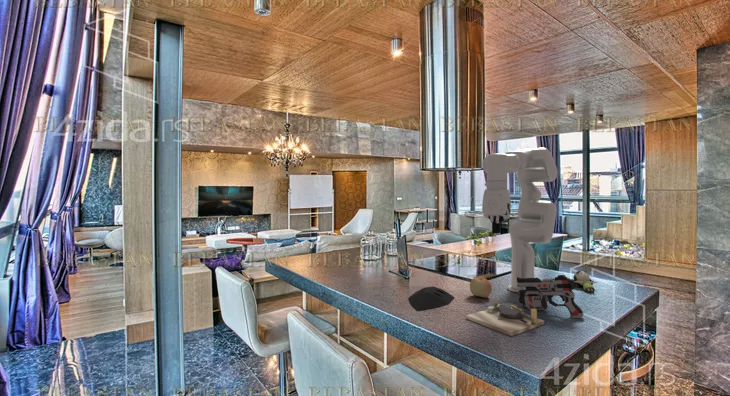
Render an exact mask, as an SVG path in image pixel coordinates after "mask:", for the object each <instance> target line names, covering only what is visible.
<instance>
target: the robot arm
mask: <svg viewBox="0 0 730 396" xmlns="http://www.w3.org/2000/svg"><path fill="white" fill-rule="evenodd" d="M555 162H556V161H555V160H554V157H553V155H552V153H551V151H550V150H549V149H548V148H546V147H538V148H537V147H536V148H535V147H534V148H522V149H519V150H511V151H505V152H501V153H500V152H498V153H497V152H496V153H490V154H488V155H486V156H485V157H484V159H482V165H481V166H482V170H483V171H484V173H486V182H485V183H484V186H485V187H486V188H485V189H484V191H483V196H482V203H481V206H482V207H481V209H482V212H481V213H482V214H484V215H483V216H484V218H487V219H489V221H490V224H491V232H492V234H495V235H498V234H501V233H502V224H503V222H504V221H505V220H508V219H510V218H511V216H510V215H511V213H512V212H511V211H512V206H511V205H512V201H511V193H510V190H509V189H508V174H515V173H516V176H517V180H518V184H519V188H520V191H521V192H520V193H521V195H520V200H519V203H518V208H517V217H518V218H519V219H520V220H515V221H513V222H512V223H511V224H510V226H509V236H510V243H511V264H510V265H511V268H510V269H511V274H510V275H511V280H510V282H511V283H510V284H509V285H507V289H508V291H510V292H513V293H518V294H519V291H520V290H526V288H525V287H517V284H518V283H517V277H519V278H535V258H536V257H535V255H536V254H535V250H534V249H533V246H532V245H531V243H532V244H533V243H534V244H541V245H543V244H544V245H545V244H550V242H551V241H552V239H553V234H554V229H555V224H556V218H557V207H556V205H555V203H554V202H552V201H549V200H541V199H542V193H541V191H540V189H539V187H537V186H536V185H535V184H534V183H545V182H546V183H548V182H549V183H550V182H554V181H555V180H556V179H557V177H558V169H557V166H556V163H555Z"/></svg>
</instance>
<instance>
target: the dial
mask: <svg viewBox="0 0 730 396" xmlns="http://www.w3.org/2000/svg"><path fill="white" fill-rule="evenodd" d="M499 304H500V305H499V314H500V315H501V316H503V317H506V318H510V319H521V318H523V317H524V318H526V319H529V320H531V325H537V319H538V317H537V316H538V310H537V309H534V308H531V310H530V314H527V313H525V308H524V306H523V305H520V304H517V303H509V302H508V303H507V302H506V303H499Z"/></svg>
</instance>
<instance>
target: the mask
mask: <svg viewBox="0 0 730 396" xmlns="http://www.w3.org/2000/svg"><path fill="white" fill-rule="evenodd" d="M407 300H408V302H409V305H410V307H411V308H413V309H414V310H415V311H416V312H423V311H429V310H434V309H438V308H443V307H445V306H448V305H450V304H451V303H452V302H453V300H455V297H454V296H453V295H452V294H450V293H449V292H448V291H446V290H444V289H442V288H440V287H436V286H428V287H423V288H421V289H418V290H417V291H415V292H414V293H413V294H411V295H410V296H408V298H407Z"/></svg>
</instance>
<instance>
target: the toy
mask: <svg viewBox="0 0 730 396" xmlns="http://www.w3.org/2000/svg"><path fill="white" fill-rule="evenodd" d="M572 277H573V278H572V279H573V280H574V281H575V284H577V286H578V287H577V288H583V290H584V291H585V293H592V294H594V293H595V290H596V289H595V287H594V286H593V285H594V284H598V281H594V280H593V279H591V278H590V275H589V273H588V272H587V271H586V270H578V271H576V272H575V273H574V275H573V276H572Z"/></svg>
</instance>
